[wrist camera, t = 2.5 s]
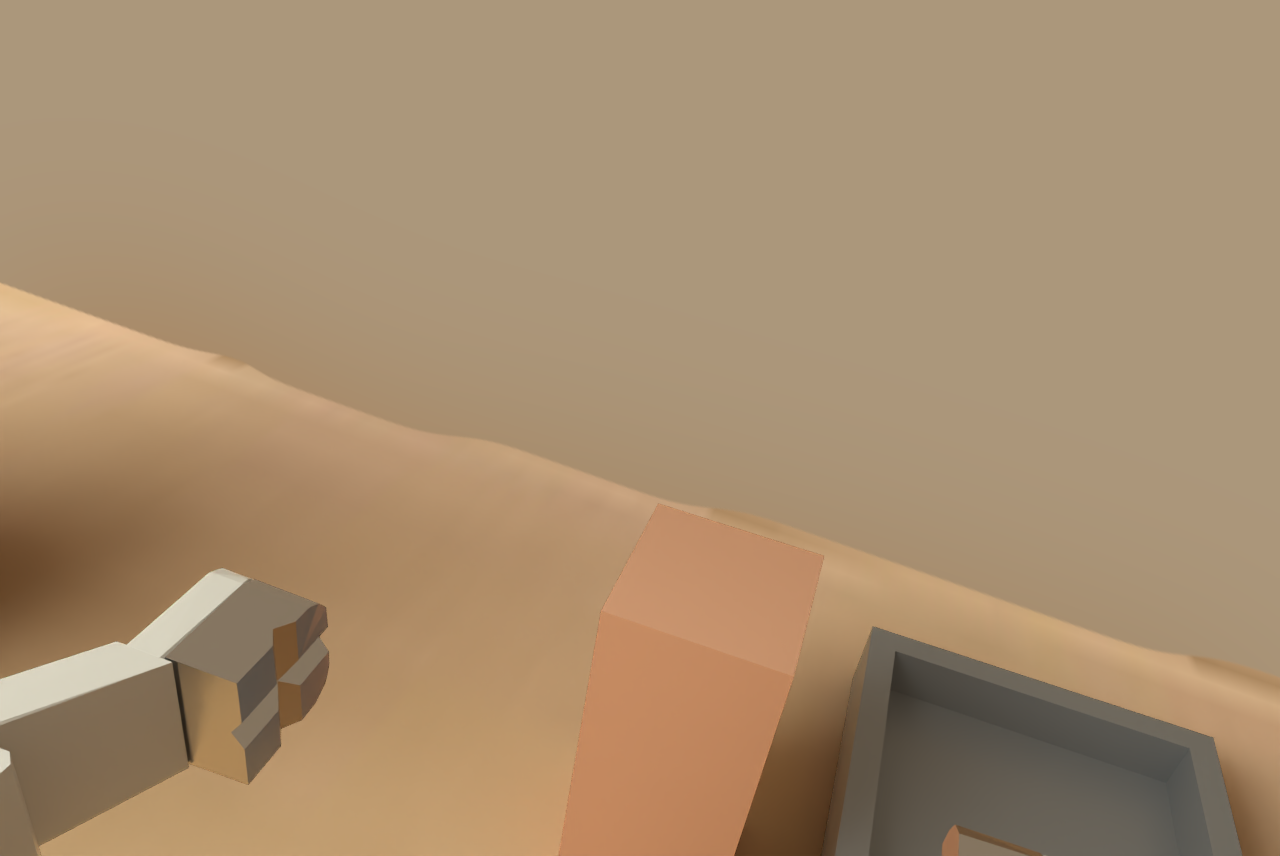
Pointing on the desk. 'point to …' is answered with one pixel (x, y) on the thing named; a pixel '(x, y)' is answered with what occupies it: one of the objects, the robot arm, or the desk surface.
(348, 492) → the desk surface
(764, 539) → the block
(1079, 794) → the tray
